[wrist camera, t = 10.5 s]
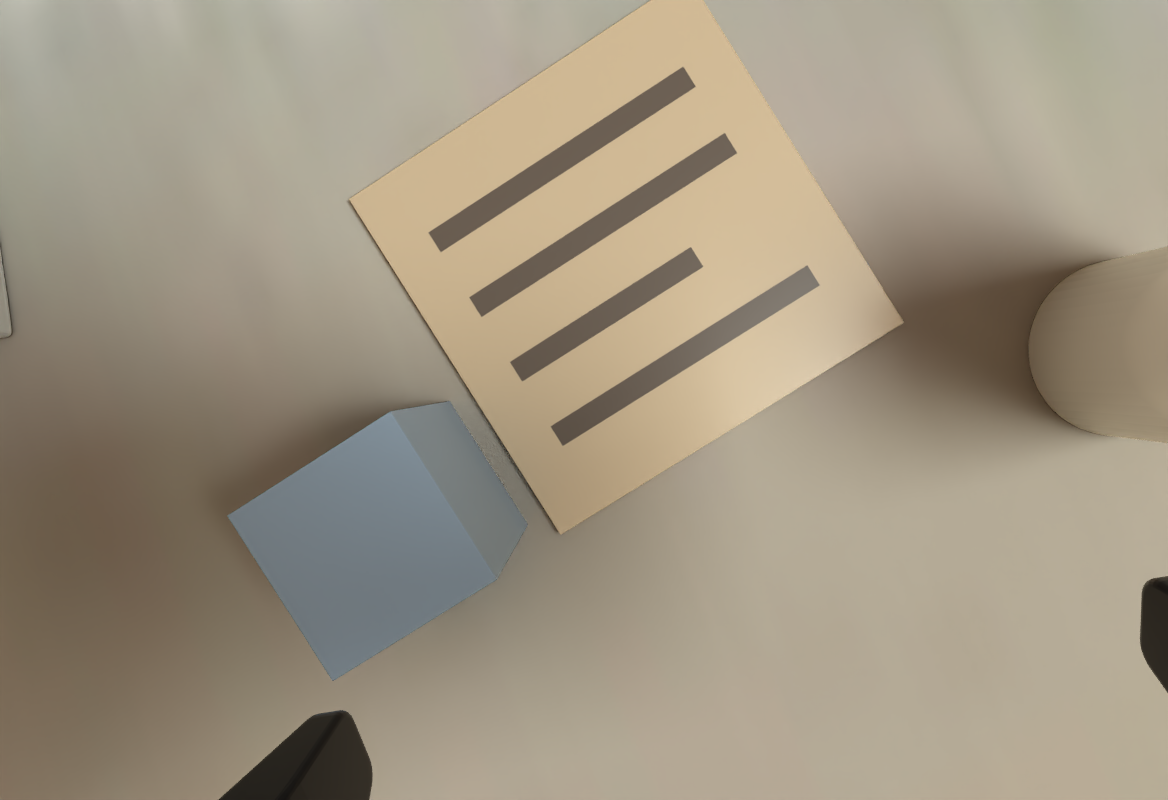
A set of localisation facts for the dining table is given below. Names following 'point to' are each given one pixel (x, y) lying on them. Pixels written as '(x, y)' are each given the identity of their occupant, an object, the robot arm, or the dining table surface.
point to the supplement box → (4, 306)
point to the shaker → (1107, 347)
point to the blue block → (382, 533)
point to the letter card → (625, 258)
